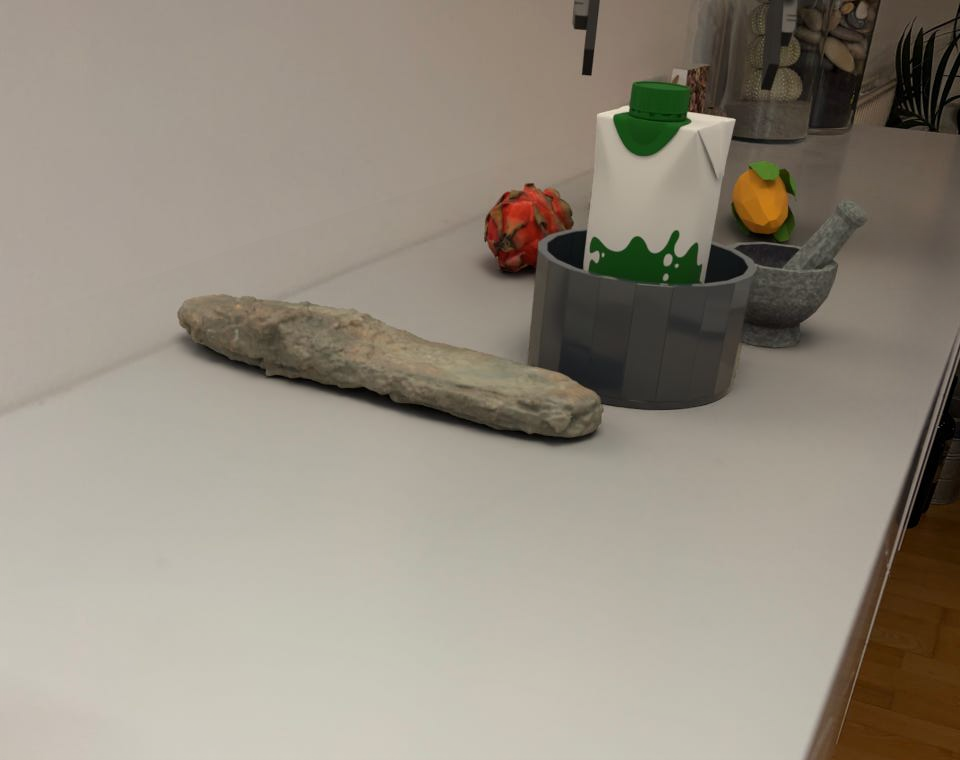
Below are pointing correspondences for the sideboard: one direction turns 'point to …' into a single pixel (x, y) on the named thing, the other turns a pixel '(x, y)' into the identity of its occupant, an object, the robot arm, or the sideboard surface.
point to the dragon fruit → (524, 225)
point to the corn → (764, 201)
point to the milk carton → (656, 187)
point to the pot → (639, 327)
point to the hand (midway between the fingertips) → (678, 70)
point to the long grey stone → (390, 363)
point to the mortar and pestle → (795, 278)
